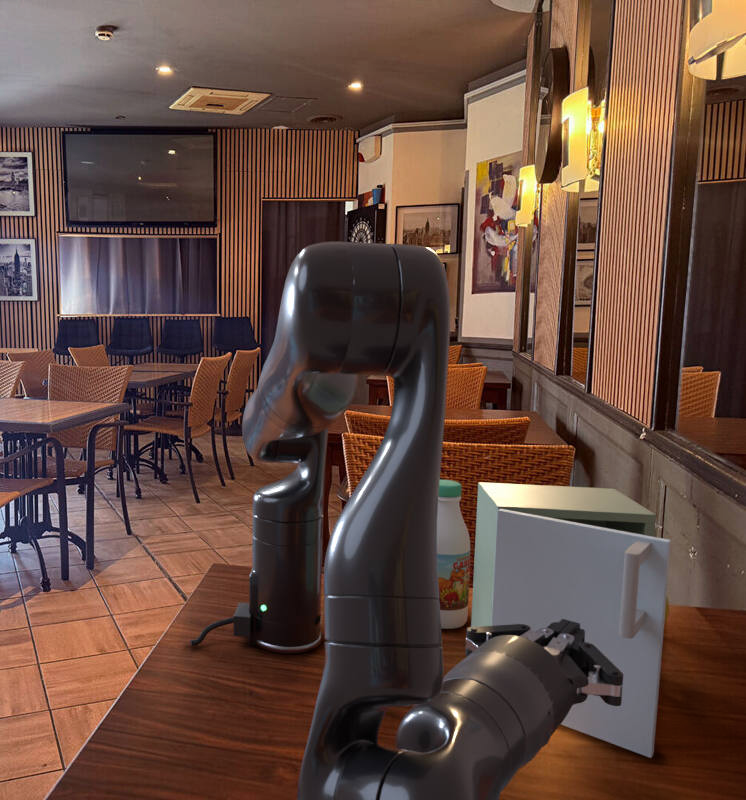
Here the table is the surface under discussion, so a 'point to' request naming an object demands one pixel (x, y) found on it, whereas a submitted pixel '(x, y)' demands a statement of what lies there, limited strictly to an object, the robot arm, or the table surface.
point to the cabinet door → (591, 609)
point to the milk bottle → (452, 556)
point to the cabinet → (548, 502)
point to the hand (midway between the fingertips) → (570, 631)
